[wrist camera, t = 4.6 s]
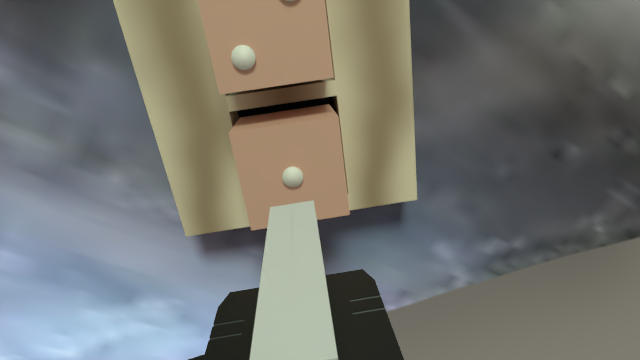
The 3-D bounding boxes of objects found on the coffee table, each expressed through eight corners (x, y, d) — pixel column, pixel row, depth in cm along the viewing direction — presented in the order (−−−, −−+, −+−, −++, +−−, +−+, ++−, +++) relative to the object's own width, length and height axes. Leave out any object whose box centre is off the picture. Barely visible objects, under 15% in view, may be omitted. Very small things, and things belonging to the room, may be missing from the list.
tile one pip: (257, 198, 24) (250, 232, 19) (240, 117, 22) (227, 133, 17) (339, 186, 24) (350, 216, 19) (329, 104, 22) (338, 116, 18)
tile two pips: (233, 86, 21) (218, 94, 17) (210, -19, 19) (187, -40, 15) (325, 72, 21) (334, 78, 17) (311, -33, 19) (318, -58, 15)
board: (197, 217, 26) (186, 236, 24) (77, -196, 18) (38, -242, 15) (403, 184, 27) (417, 199, 24) (381, -233, 19) (397, -284, 16)
